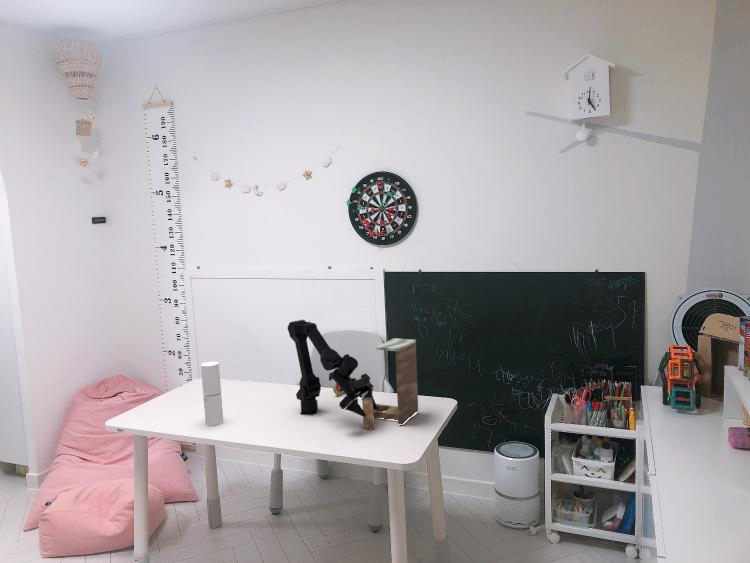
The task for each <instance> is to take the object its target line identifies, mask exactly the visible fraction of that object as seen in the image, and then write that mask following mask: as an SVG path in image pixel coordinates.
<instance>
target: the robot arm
mask: <svg viewBox="0 0 750 563" xmlns="http://www.w3.org/2000/svg"><path fill="white" fill-rule="evenodd" d="M287 332H288V334H289V337H290V339H292V341H293V342H294V344H295V349H296V354H297V358H298V363H299V369H300V374H301V377H300V380H299V383H298V384H299V389H298V391H297V392H296V394H295V396H296V400H298V401H300V410H301V411H300V415H316V413H317V411H319V410H318V409H319V405H318V399H317V398H319V397H320V394H321V389H322V388H321V387H322V385H321V382H320V381H321V380H320V377H319V376H316V375H315V373H314V371H313V365H312V359H311V356H310V355H311V354H310V349H309V345H308V339H309V341H310V343H312V345H313V346H314V348H315V350H316V351H317V353H318V354H319V361H320V363H321V365H322V366H321V367H322V368H323V369H324V370H325V371H329V373H328V380H329V382H330V381H332V380H333V382H334V381H335V382H336V383H337V384H338V386H339V387H340V388H341V389H340V391H341V392H342V391H344V392H342V393H344V394H345V396H344V397H343V398H342V400H340V401H339V404H338V405H339V407H340V408H341V410H345V411H349V412H351V413H354V414H357V415H359V416H361V417H362V418H363V417H365V416H366V414H365V412H364V411H363V407H362V406H361V405H360V404H359V399H358V398H361V401H362V399H363V398H365V397H371V398H373V408H374V409H377V405H376V404H377V403H376V401H375V399H374V395H373V391H374V385H373V384H372V383H371V377H370V376H369V375H368V374H367V373H366V372H365V373H363V374H361V376H360V378H358V379H357V378H355V377H351V376H352V374H353V373H354V372H355V370H356V369H357V368H358V366H359V362H358V360H357V359H356V358H355V357H353V356H350V355H349V353H347V354H344V355H343V356H341V355H340V354H339V352H337V351H336V350H335V349H333V348H331V347H330V346H329V344H328V342H327V341H326V339H325V338H324V336H323V335H322V334H321V332H320V331H319V329H318V325H317V324H316V323H314V322H311V321H306V320H305V319H300V320H293V321H290V322H289V323H288V326H287ZM330 371H331V372H330Z"/></svg>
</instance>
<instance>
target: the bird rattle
mask: <svg viewBox="0 0 750 563" xmlns="http://www.w3.org/2000/svg"><path fill="white" fill-rule="evenodd" d="M340 389H341V388H340V387H339V386H338V384H337V383H336V382H335V381H334V380H333V384H332V391H333V393H334V394H335V395H336V397H340V396H341V395H342V394H343V393H344V391H342V392H341V391H340Z"/></svg>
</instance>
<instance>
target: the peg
mask: <svg viewBox="0 0 750 563" xmlns="http://www.w3.org/2000/svg"><path fill="white" fill-rule="evenodd" d="M362 398H363V397H362ZM362 398H361V399H362ZM373 398H374V397H373ZM373 398H371V397H365V398H363V399H362V400H361V402H362V404H361V405H362V409H363V411H364V412H365V414H366V416H365V417H363V416H362V419H363V421H362V422H363V430H364V429H366V430H365V431H371V430H370V429H373V428H375V423H374V422H375V421H374V420H375V419H374V418H373ZM373 430H374V429H373Z"/></svg>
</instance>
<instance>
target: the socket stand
mask: <svg viewBox="0 0 750 563" xmlns="http://www.w3.org/2000/svg"><path fill="white" fill-rule="evenodd" d="M375 350H376V351H377V350H378V351H379V350H380V351H388V352H389V351H391V352H395V369H396V370H395V371H396V376H395V377H396V393H397V394H396V397H397V406H395V405H390V404H389V405H387V404H380V403H376V405H377V409H374V408H373V417H374V418H384V419H394V420H398V422H397V423H398V424H403V423H404V422H405V421H406V420H407V419H408V418H409V417H411V416H412V415H413V414H414V413H415V412H417V411H418V412H419V397H418V396H419V394H418V393H419V391H418V390H419V389H418V370H417V369H418V368H417V367H418V366H417V365H418V364H417V363H418V362H417V339H410V338H409V339H408V338H396V337H394V338H393V337H392V338H391V339H389V340H387V341H385V342H383V343H381V344H379V345H377V346H375ZM383 411H385V412H383Z"/></svg>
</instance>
